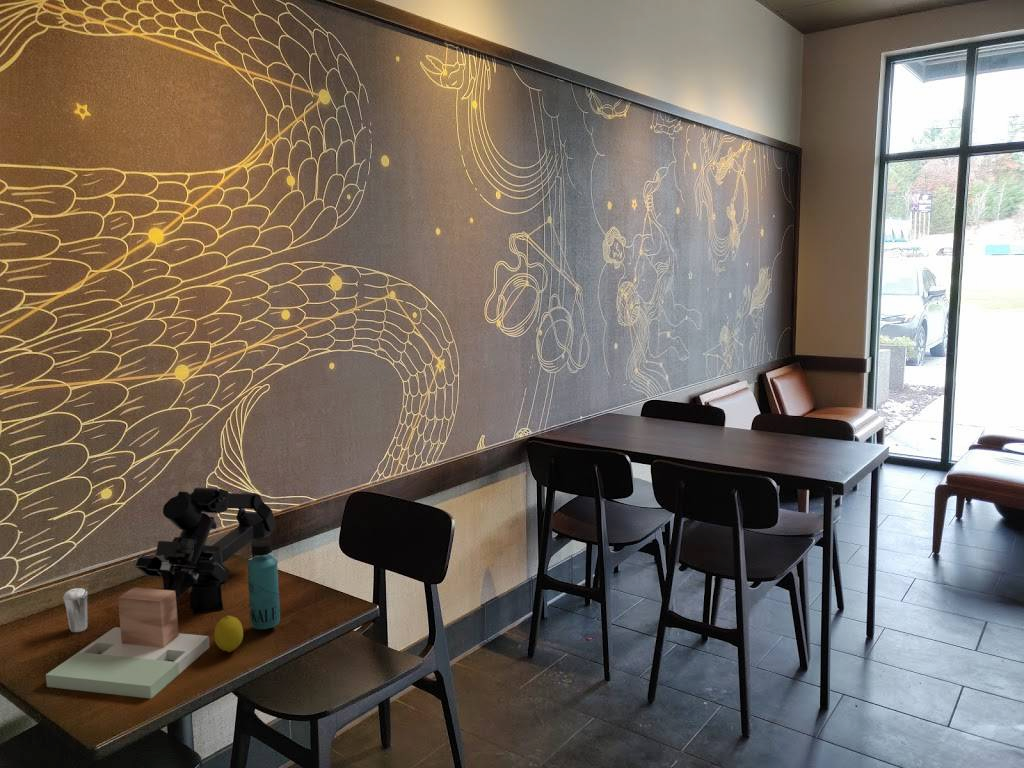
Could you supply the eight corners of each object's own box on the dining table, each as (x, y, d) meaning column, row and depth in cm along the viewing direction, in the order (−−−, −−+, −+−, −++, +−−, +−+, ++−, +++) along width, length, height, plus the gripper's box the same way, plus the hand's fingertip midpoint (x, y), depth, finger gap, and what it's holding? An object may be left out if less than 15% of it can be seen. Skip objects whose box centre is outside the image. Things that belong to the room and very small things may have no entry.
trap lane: (115, 638, 161) (114, 627, 161) (209, 647, 157) (208, 636, 157) (46, 686, 143) (45, 674, 142) (151, 698, 139) (150, 686, 138)
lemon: (227, 661, 152) (225, 624, 150) (209, 654, 155) (207, 617, 153) (249, 649, 156) (247, 613, 155) (232, 642, 159) (230, 607, 158)
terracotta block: (137, 631, 159) (134, 587, 157) (178, 635, 157) (175, 590, 155) (121, 643, 154) (117, 597, 152) (163, 647, 152) (160, 601, 151)
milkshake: (83, 635, 162) (78, 591, 161) (61, 633, 163) (57, 589, 162) (98, 625, 167) (94, 583, 165) (77, 623, 168) (73, 581, 166)
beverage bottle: (269, 619, 170) (264, 534, 166) (288, 627, 166) (283, 541, 163) (244, 630, 164) (238, 543, 161) (262, 639, 161) (258, 550, 157)
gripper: (136, 520, 164) (105, 589, 155) (214, 525, 161) (187, 596, 152) (162, 541, 173) (134, 608, 164) (236, 547, 170) (212, 615, 161)
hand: (165, 606), depth 160 cm, fingers closed
